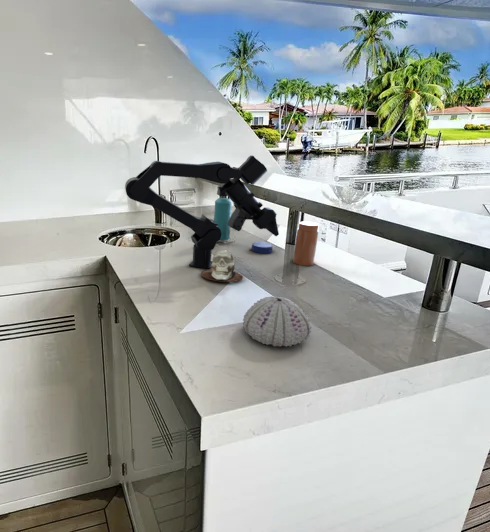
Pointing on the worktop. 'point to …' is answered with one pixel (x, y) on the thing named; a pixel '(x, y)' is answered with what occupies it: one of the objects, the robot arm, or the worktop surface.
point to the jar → (306, 243)
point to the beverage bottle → (223, 216)
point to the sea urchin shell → (276, 322)
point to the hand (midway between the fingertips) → (271, 231)
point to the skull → (222, 268)
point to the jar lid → (262, 247)
